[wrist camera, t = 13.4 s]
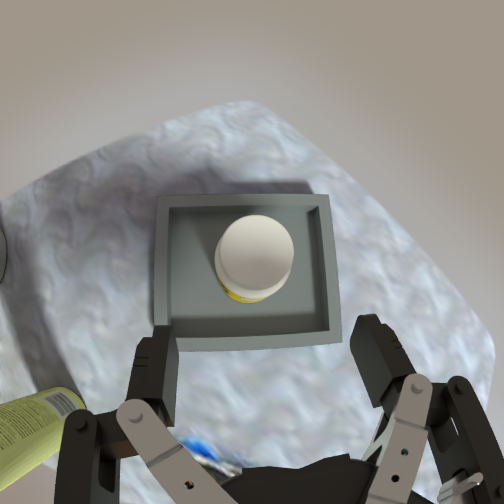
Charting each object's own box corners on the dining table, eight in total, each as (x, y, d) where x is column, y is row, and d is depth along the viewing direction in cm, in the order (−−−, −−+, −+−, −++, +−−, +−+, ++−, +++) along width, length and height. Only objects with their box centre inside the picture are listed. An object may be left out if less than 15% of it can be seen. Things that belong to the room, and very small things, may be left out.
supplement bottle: (213, 249, 24) (207, 211, 16) (271, 241, 25) (292, 202, 17) (221, 308, 23) (218, 300, 15) (281, 300, 24) (308, 287, 16)
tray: (162, 348, 23) (155, 350, 21) (163, 207, 26) (157, 196, 23) (331, 340, 24) (342, 342, 22) (320, 205, 27) (328, 194, 25)
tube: (61, 443, 20) (-77, 523, 1) (33, 398, 20) (-125, 435, 1) (100, 425, 21) (-50, 527, 2) (70, 376, 21) (-111, 413, 3)
